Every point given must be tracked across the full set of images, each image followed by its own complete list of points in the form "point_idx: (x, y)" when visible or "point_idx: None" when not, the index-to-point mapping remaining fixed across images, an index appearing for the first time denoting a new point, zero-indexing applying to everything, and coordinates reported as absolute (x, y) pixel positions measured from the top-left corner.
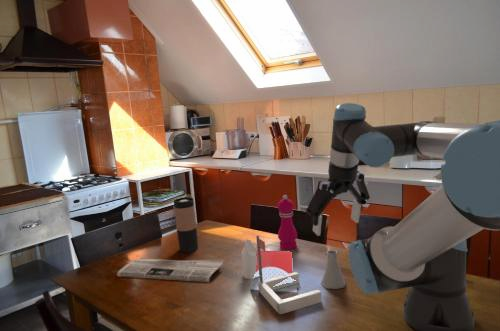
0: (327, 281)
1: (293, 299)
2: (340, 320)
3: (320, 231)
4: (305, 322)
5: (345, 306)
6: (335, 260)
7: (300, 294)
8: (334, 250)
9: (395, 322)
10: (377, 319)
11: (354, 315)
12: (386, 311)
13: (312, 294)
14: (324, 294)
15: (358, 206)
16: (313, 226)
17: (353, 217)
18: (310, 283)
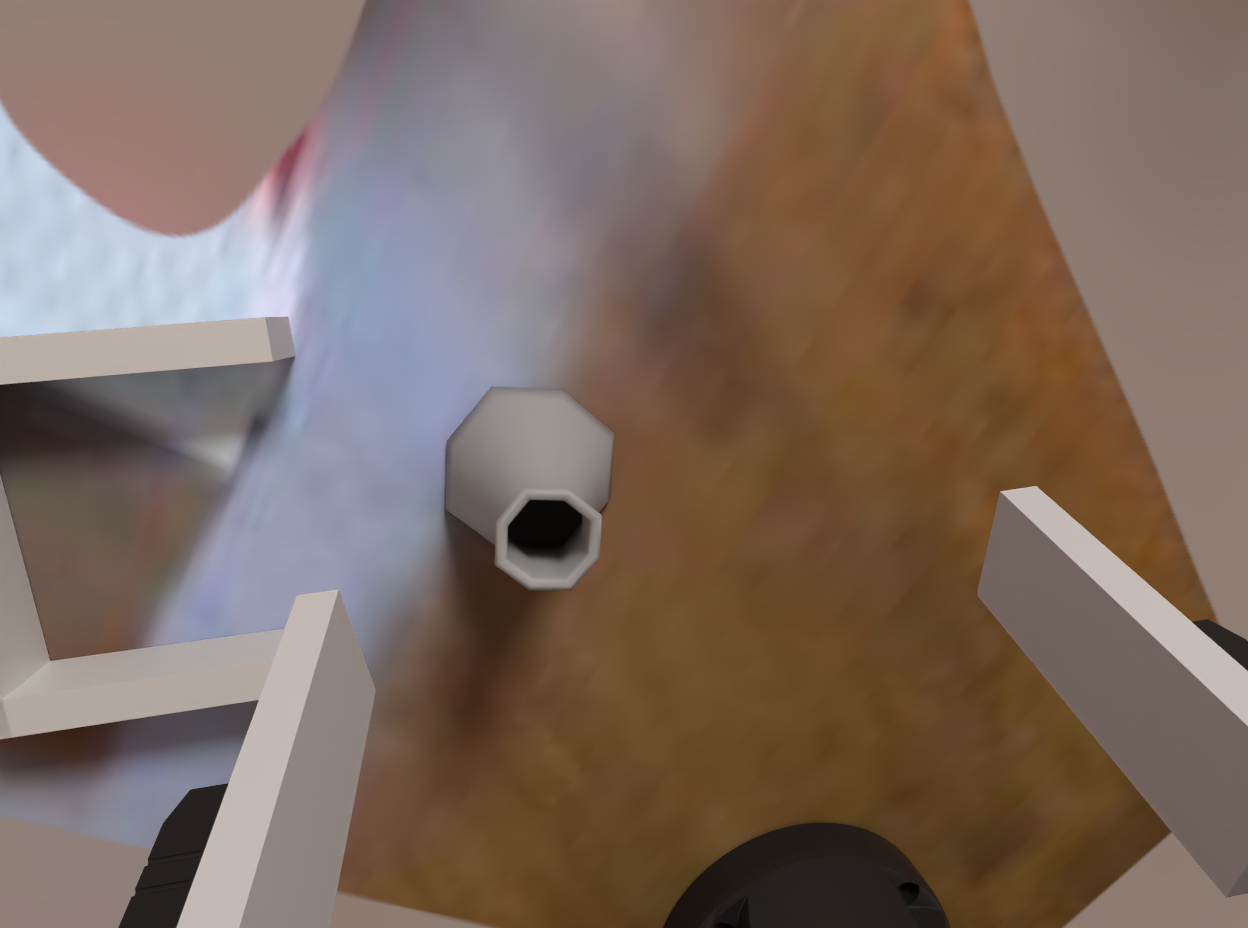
0: (465, 518)
1: (95, 720)
2: (367, 847)
3: (361, 748)
4: (161, 815)
5: (462, 736)
6: (552, 559)
7: (170, 675)
8: (588, 516)
9: (615, 925)
10: (552, 885)
11: (462, 826)
12: (636, 837)
13: (258, 699)
14: (406, 573)
15: (1190, 839)
16: (277, 672)
17: (1019, 567)
18: (378, 395)
